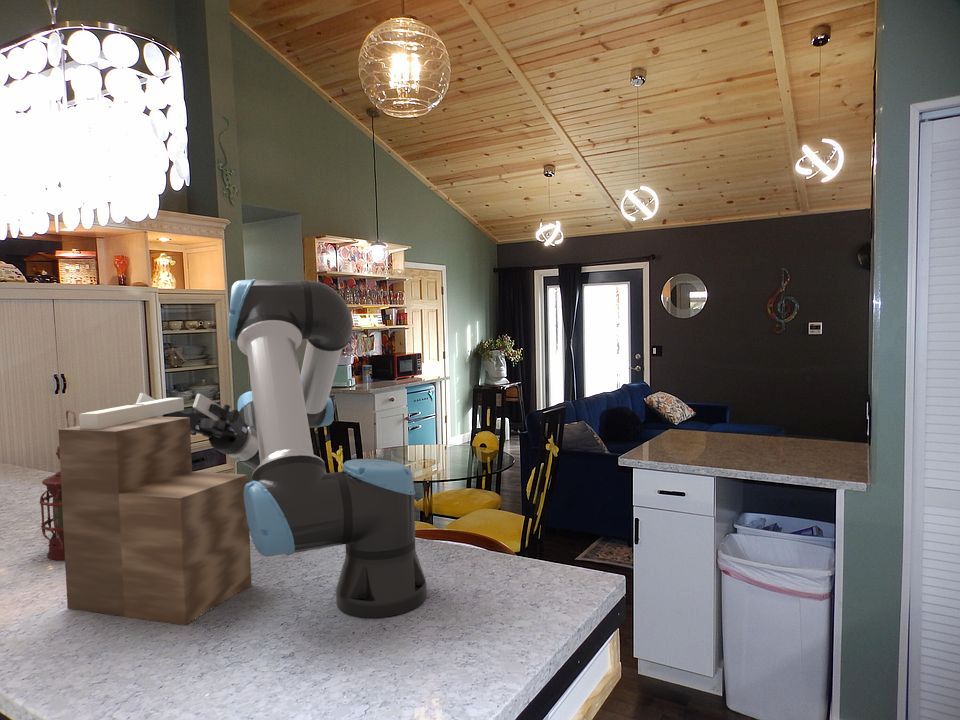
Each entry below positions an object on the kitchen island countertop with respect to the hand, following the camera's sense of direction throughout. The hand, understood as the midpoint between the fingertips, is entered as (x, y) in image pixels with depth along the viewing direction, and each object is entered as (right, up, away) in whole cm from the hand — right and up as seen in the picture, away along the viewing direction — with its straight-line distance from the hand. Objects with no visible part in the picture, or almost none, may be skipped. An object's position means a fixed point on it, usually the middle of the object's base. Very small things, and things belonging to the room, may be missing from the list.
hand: (167, 399), depth 118 cm
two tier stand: (+4, -33, -10) cm, 35 cm away
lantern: (-26, -33, +13) cm, 44 cm away
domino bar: (-3, -3, -4) cm, 6 cm away
